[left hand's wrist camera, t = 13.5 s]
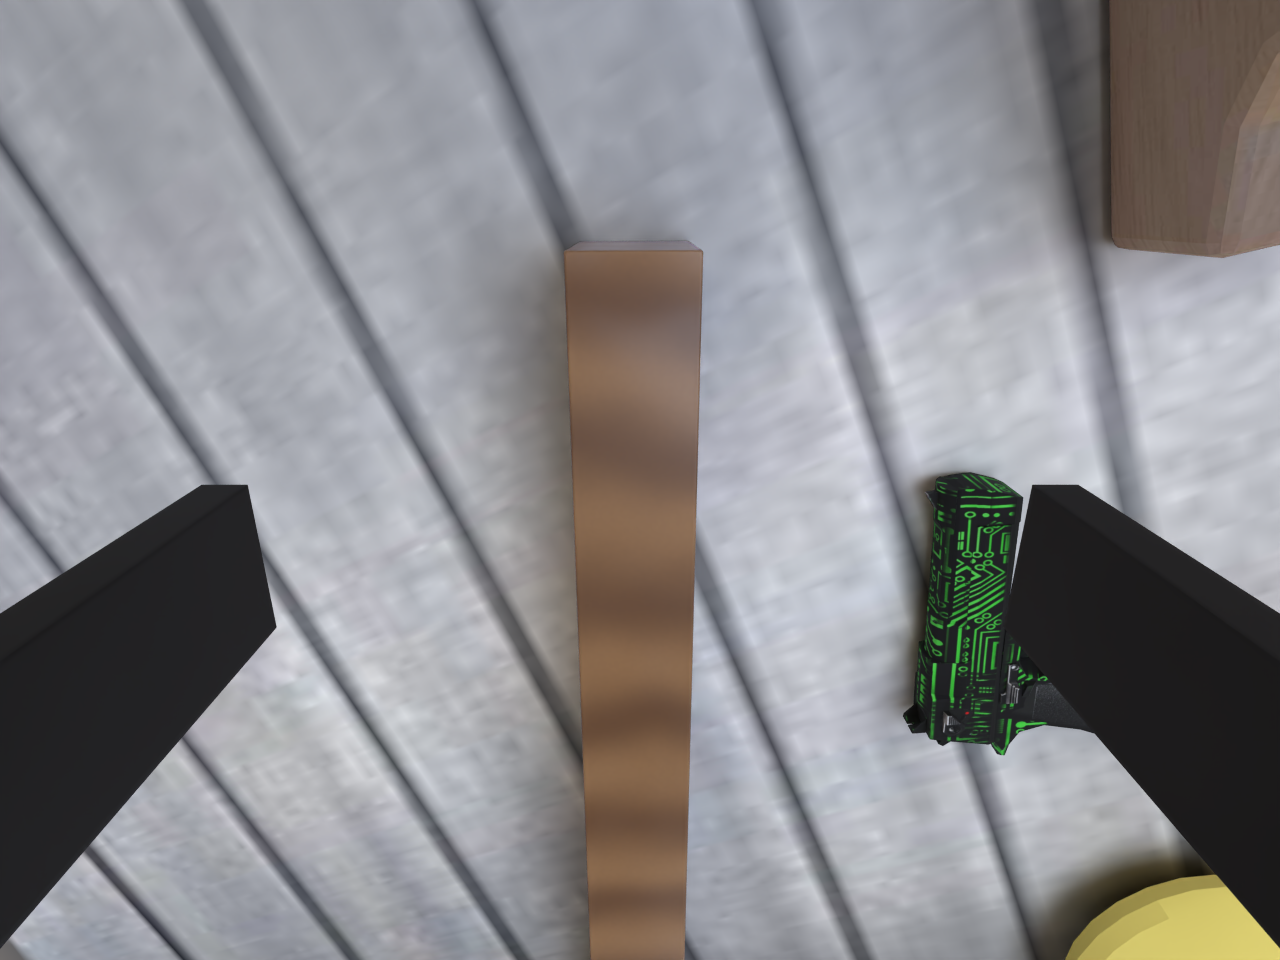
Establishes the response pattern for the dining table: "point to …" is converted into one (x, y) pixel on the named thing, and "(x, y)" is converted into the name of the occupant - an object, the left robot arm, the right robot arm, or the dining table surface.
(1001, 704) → the handgun
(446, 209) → the dining table surface
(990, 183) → the dining table surface
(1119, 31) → the decorative block
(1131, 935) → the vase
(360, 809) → the dining table surface
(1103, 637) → the left robot arm
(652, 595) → the bar
